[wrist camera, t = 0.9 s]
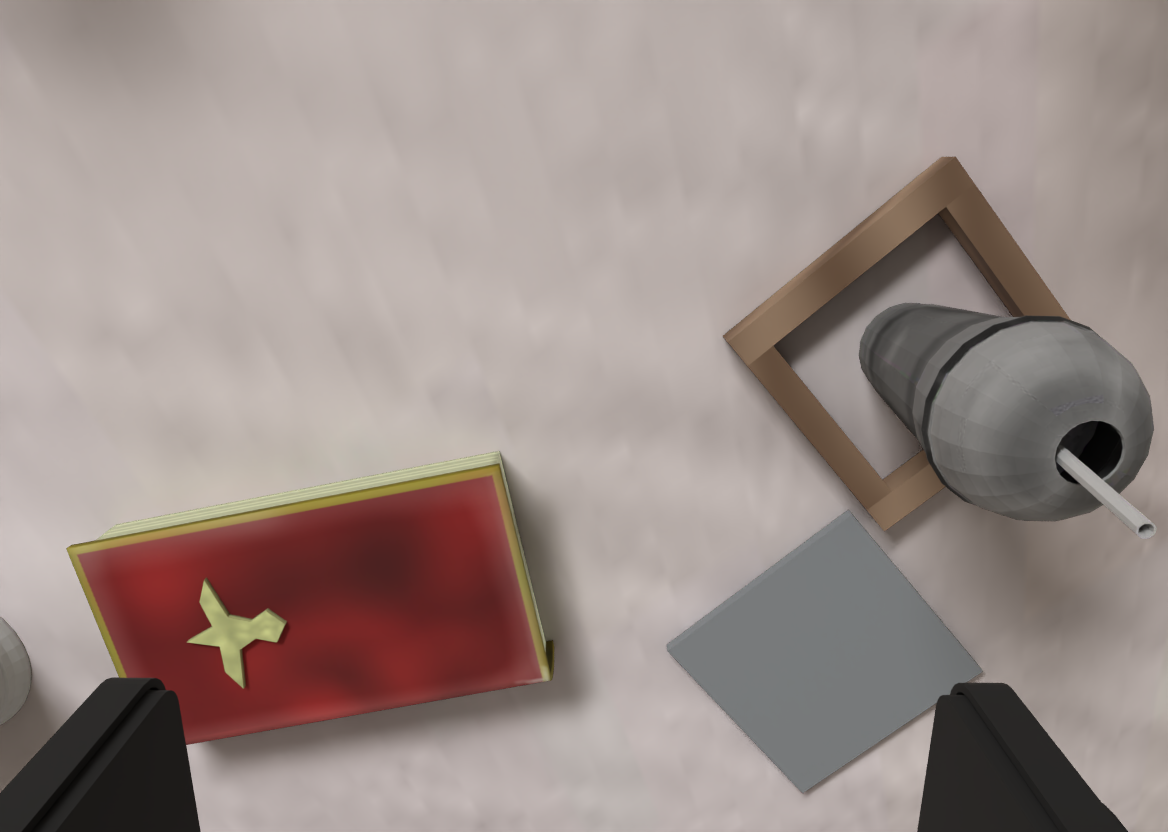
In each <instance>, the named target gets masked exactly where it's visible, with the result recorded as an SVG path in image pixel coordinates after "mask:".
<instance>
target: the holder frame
mask: <svg viewBox="0 0 1168 832" xmlns="http://www.w3.org/2000/svg"><path fill="white" fill-rule="evenodd" d="M937 213H939V215H940V216H941V217H942V219H943V220H944V222H945V223H946V224H947V226H948V227H949V229H950V230H951V231H952V233H953V234H954V235H955V237H956V238H957V240H958V241H959V242H960V244H961V245H962V246H963V248H964V249H965V251H966V252H967V253H968V255H969V256H970V258H971V259H972V260H973V262H974V263H975V264H976V266H977V267H978V269H979V270H980V271H981V273H982V274H983V276H984V277H985V278H986V280H987V281H988V282H989V284H990V285H991V287H992V288H993V289H994V291H995V292H996V293H997V295H998V296H999V298H1000V299H1001V300H1002V302H1003V303H1004V305H1005V306H1006V307H1007V309H1008V310H1009V311H1010V313H1011V314H1012V316H1013V317H1023V316H1026V315H1028V316H1060V317H1063V318H1066V319H1068V320H1070V318H1069V317H1068V316H1067V314H1066V313H1065V311H1064V310H1063V309H1062V307H1061V306H1060V304H1059V303H1058V301H1057V300H1056V299H1055V297H1054V296H1053V294H1052V293H1051V292H1050V290H1049V289H1048V287H1047V286H1046V284H1045V283H1044V282H1043V280H1042V279H1041V277H1040V276H1039V274H1038V273H1037V272H1036V270H1035V269H1034V267H1033V266H1032V265H1031V263H1030V262H1029V260H1028V259H1027V257H1026V256H1025V255H1024V253H1023V252H1022V250H1021V249H1020V248H1019V246H1018V245H1017V243H1016V242H1015V240H1014V239H1013V238H1012V236H1011V235H1010V233H1009V232H1008V231H1007V229H1006V228H1005V226H1004V225H1003V223H1002V222H1001V221H1000V219H999V218H998V216H997V215H996V213H995V212H994V211H993V209H992V208H991V206H990V205H989V204H988V202H987V201H986V199H985V198H984V196H983V195H982V194H981V192H980V191H979V189H978V188H977V187H976V185H975V184H974V182H973V181H972V179H971V178H970V177H969V175H968V174H967V172H966V171H965V169H964V168H963V167H962V165H961V164H960V162H959V161H958V160H957V158H956V157H941V158H940V159H939V160H937V161H936V162H935V163H934V164H932V165H931V166H930V167H929V168H928V169H926V170H925V171H924V172H923V173H921V174H920V175H919V176H918V177H917V178H915V179H914V180H913V181H912V182H910V183H909V184H908V185H907V186H906V187H904V188H903V189H902V190H901V191H899V192H898V193H897V194H896V195H895V196H893V197H892V198H891V199H890V200H888V201H887V202H886V203H885V204H884V205H882V206H881V207H880V208H879V209H877V210H876V211H875V212H874V213H873V214H871V215H870V216H869V217H868V218H866V219H865V220H864V221H863V222H862V223H860V224H859V225H858V226H857V227H855V228H854V229H853V230H852V231H851V232H849V233H848V234H847V235H846V236H844V237H843V238H842V239H841V240H840V241H838V242H837V243H836V244H835V245H833V246H832V247H831V248H830V249H829V250H827V251H826V252H825V253H824V254H822V255H821V256H820V257H819V258H818V259H816V260H815V261H814V262H813V263H811V264H810V265H809V266H808V267H807V268H805V269H804V270H803V271H802V272H800V273H799V274H798V275H797V276H796V277H794V278H793V279H792V280H791V281H789V282H788V283H787V284H786V285H785V286H783V287H782V288H781V289H780V290H778V291H777V292H776V293H775V294H774V295H772V296H771V297H770V298H769V299H767V300H766V301H765V302H764V303H763V304H761V305H760V306H759V307H758V308H756V309H755V310H754V311H753V312H752V313H750V314H749V315H748V316H747V317H745V318H744V319H743V320H742V321H741V322H739V323H738V324H737V325H736V326H734V327H733V328H732V329H731V330H730V331H728V332H727V333H726V334H725V335H723V337H724V338H725V340H726V341H727V342H728V343H729V344H730V346H731V347H732V348H733V349H734V350H735V352H736V353H737V354H738V355H739V356H740V358H741V359H742V360H743V361H744V363H745V364H746V365H747V366H748V367H749V369H750V370H751V371H752V372H753V373H754V375H755V376H756V377H757V378H758V379H759V381H760V382H761V383H762V384H763V385H764V387H765V388H766V389H767V390H768V392H769V393H770V394H771V395H772V396H773V398H774V399H775V400H776V401H777V402H778V404H779V405H780V406H781V407H782V408H783V410H784V411H785V412H786V413H787V414H788V416H789V417H790V418H791V419H792V420H793V422H794V423H795V424H796V425H797V427H798V428H799V429H800V430H801V431H802V433H803V434H804V435H805V436H806V437H807V439H808V440H809V441H810V442H811V443H812V445H813V446H814V447H815V448H816V449H817V451H818V452H819V453H820V454H821V455H822V457H823V458H824V459H825V460H826V462H827V463H828V464H829V465H830V466H831V468H832V469H833V470H834V471H835V472H836V474H837V475H838V476H839V477H840V478H841V480H842V481H843V482H844V483H845V484H846V486H847V487H848V488H849V489H850V491H851V492H852V493H853V494H854V495H855V497H856V498H857V499H858V500H859V501H860V503H861V504H862V505H863V506H864V507H865V509H866V510H867V511H868V512H869V513H870V515H871V516H872V517H873V518H874V519H875V521H876V522H877V523H878V524H879V526H880V527H881V528H882V529H883V530H884V531H886V530H887V529H888V528H890V527H891V526H892V525H894V524H895V523H896V522H898V521H899V520H901V519H902V518H903V517H905V516H906V515H907V514H909V513H910V512H912V511H913V510H914V509H916V508H917V507H918V506H920V505H921V504H922V503H924V502H925V501H927V500H928V499H929V498H931V497H932V496H933V495H935V494H936V493H938V492H939V491H940V490H942V489H943V488H944V487H946V486H944V485H943V484H942V483H941V481H940V480H939V478H938V477H937V475H936V473H935V472H934V470H933V468H932V467H931V465H930V463H929V462H928V460H927V457H926V453H925V451H924V450H922V451H921V452H919V453H918V454H917V455H915V456H914V457H913V458H911V459H910V460H908V461H907V462H906V463H904V464H903V465H902V466H900V467H899V468H898V469H896V470H895V471H894V472H892V473H891V474H890V475H888V476H887V477H886V478H884V479H883V480H882V479H881V478H880V476H879V475H878V474H877V473H876V471H875V470H874V469H873V468H872V467H871V465H870V464H869V463H868V462H867V460H866V459H865V458H864V457H863V455H862V454H861V453H860V452H859V451H858V449H857V448H856V447H855V446H854V444H853V443H852V442H851V441H850V439H849V438H848V437H847V436H846V435H845V433H844V432H843V431H842V430H841V428H840V427H839V426H838V425H837V423H836V422H835V421H834V420H833V419H832V417H831V416H830V415H829V414H828V412H827V411H826V410H825V409H824V408H823V406H822V405H821V404H820V403H819V401H818V400H817V399H816V398H815V396H814V395H813V394H812V393H811V392H810V390H809V389H808V388H807V387H806V385H805V384H804V383H803V382H802V380H801V379H800V378H799V377H798V376H797V374H796V373H795V372H794V371H793V369H792V368H791V367H790V366H789V364H788V363H787V362H786V361H785V360H784V358H783V357H782V356H781V355H780V353H779V352H778V351H777V350H776V348H775V347H774V346H773V345H775V344H776V343H777V342H778V341H780V340H781V339H782V338H783V337H785V336H786V335H787V334H788V333H790V332H791V331H792V330H793V329H795V328H796V327H797V326H798V325H799V324H801V323H802V322H803V321H804V320H806V319H807V318H808V317H809V316H811V315H812V314H813V313H814V312H816V311H817V310H818V309H819V308H821V307H822V306H823V305H824V304H826V303H827V302H828V301H829V300H831V299H832V298H833V297H834V296H836V295H837V294H838V293H839V292H841V291H842V290H843V289H844V288H845V287H847V286H848V285H849V284H850V283H852V282H853V281H854V280H855V279H857V278H858V277H859V276H860V275H862V274H863V273H864V272H865V271H867V270H868V269H869V268H870V267H872V266H873V265H874V264H875V263H877V262H878V261H879V260H880V259H882V258H883V257H884V256H885V255H887V254H888V253H889V252H890V251H891V250H893V249H894V248H895V247H896V246H898V245H899V244H900V243H901V242H903V241H904V240H905V239H906V238H908V237H909V236H910V235H911V234H913V233H914V232H915V231H916V230H918V229H919V228H920V227H921V226H923V225H924V224H925V223H926V222H928V221H929V220H930V219H931V218H933V217H934V216H935V215H936V214H937Z"/></svg>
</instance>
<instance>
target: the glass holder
mask: <svg viewBox="0 0 1168 832" xmlns="http://www.w3.org/2000/svg"><path fill="white" fill-rule="evenodd" d="M30 685H31V666H30V662H29V658H28V655H27V652H26V650H25V648H24V646H23V644H22V642H21V640H20V639H19V637H18V636H17V634H16V633H15V631H14V630H13V629H12V628H11V627H10V626H9V625H8V624H7V623H6V622H5V620H3V619H2V618H1V617H0V725H1V724H3V723H4V722H6V721H8V720H9V719H11V718H12V717H13V716H14V715H15V714H16V713H17V712H18V711H19V710H20V708H21V707H22V705H23V704H24V703H25V701H26V698H27V696H28V693H29V691H30Z"/></svg>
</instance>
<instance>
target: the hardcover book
mask: <svg viewBox="0 0 1168 832" xmlns="http://www.w3.org/2000/svg"><path fill="white" fill-rule="evenodd" d="M67 552H68V554H69V557H70V559H71V561H72V564H73V566H74V569H75V571H76V574H77V576H78V578H79V581H80V583H81V586H82V588H83V591H84V593H85V595H86V598H87V600H88V603H89V605H90V608H91V610H92V612H93V615H94V617H95V620H96V622H97V625H98V627H99V630H100V632H101V634H102V637H103V639H104V642H105V644H106V647H107V649H108V651H109V654H110V656H111V659H112V661H113V664H114V666H115V668H116V671H117V673H118V676H119V678H157V679H160V680H161V681H162V682H163V684H164V686H165V689H166V690H172V691H174V692H175V693H176V695H177V697H178V700H179V705H180V711H181V717H182V724H183V730H184V736H185V742H186V745H188V744H194V743H200V742H205V741H211V740H217V739H222V738H228V737H234V736H239V735H245V734H251V733H256V732H262V731H267V730H273V729H279V728H284V727H290V726H296V725H301V724H307V723H313V722H318V721H324V720H330V719H335V718H341V717H347V716H352V715H358V714H364V713H369V712H375V711H381V710H386V709H392V708H398V707H403V706H409V705H415V704H420V703H426V702H432V701H437V700H443V699H449V698H454V697H460V696H466V695H471V694H477V693H483V692H488V691H494V690H500V689H505V688H511V687H517V686H522V685H528V684H534V683H539V682H545V681H551V680H552V678H553V672H554V643H553V640H551V641H545V637H544V633H543V629H542V625H541V620H540V616H539V612H538V608H537V604H536V600H535V596H534V592H533V587H532V583H531V579H530V575H529V571H528V567H527V563H526V559H525V555H524V550H523V546H522V542H521V538H520V534H519V530H518V526H517V522H516V517H515V513H514V509H513V505H512V501H511V497H510V493H509V489H508V484H507V480H506V476H505V472H504V468H503V464H502V460H501V456H500V451H497V452H492V453H487V454H481V455H476V456H471V457H466V458H461V459H455V460H450V461H445V462H440V463H435V464H429V465H424V466H419V467H414V468H409V469H403V470H398V471H393V472H388V473H382V474H377V475H372V476H367V477H362V478H356V479H351V480H346V481H341V482H336V483H330V484H325V485H320V486H315V487H310V488H304V489H299V490H294V491H289V492H284V493H278V494H273V495H268V496H263V497H258V498H252V499H247V500H242V501H237V502H232V503H226V504H221V505H216V506H211V507H206V508H200V509H195V510H190V511H185V512H179V513H174V514H169V515H164V516H159V517H153V518H148V519H143V520H138V521H133V522H127V523H122V524H117V525H115V526H114V527H112V528H111V529H110V530H108V531H107V532H106V533H105V534H103V535H102V536H101V537H99V538H98V539H97V540H95V541H90V542H85V543H80V544H74V545H71V546H69V547H68V548H67Z"/></svg>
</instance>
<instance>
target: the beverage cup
mask: <svg viewBox="0 0 1168 832" xmlns="http://www.w3.org/2000/svg"><path fill="white" fill-rule="evenodd" d="M859 358H860V363H861V368H862V370H863V372H864V373H865V375H866V377H867V378H868V380H869V381H870V382H871V384H872V385H873V387H874V388H875V390H876V392H877V393H878V394H879V395H880V396H881V397H882V399H883V400H884V401H885V402H886V403H887V404H888V406H889V407H890V408H891V409H892V410H893V411H894V412H895V414H896V415H897V416H898V417H899V418H900V419H901V421H902V422H903V423H904V424H905V425H906V426H907V428H908V429H909V430H910V431H911V432H912V433H913V434H914V436H915V437H916V438H917V439H918V440H919V442H920V444H921V446H922V448H923V450H924V451H925V453H926V457H927V460H928V462H929V463H930V465H931V467H932V468H933V470H934V472H935V473H936V475H937V477H938V478H939V480H940V481H941V483H942V484H943V485H944V486H946V487H947V488H948V489H949V490H951V491H952V492H953V493H954V494H956V495H957V496H958V497H960V498H961V499H962V500H963V501H965V502H968V503H971V504H974V505H977V506H979V507H981V508H984V509H986V510H989V511H992V512H995V513H998V514H1001V515H1004V516H1007V517H1010V518H1013V519H1016V520H1024V521H1059V520H1064V519H1067V518H1071V517H1075V516H1079V515H1082V514H1086V513H1090V512H1092V511H1093V510H1095V509H1097V508H1099V507H1100V506H1102V505H1104V506H1105V507H1107V508H1108V509H1109V510H1110V511H1111V512H1112V513H1113V514H1114V515H1115V516H1117V517H1118V518H1119V519H1120V520H1121V521H1122V522H1123V523H1124V524H1125V525H1126V526H1128V527H1129V528H1130V529H1131V530H1132V531H1133V532H1134V533H1135V534H1136V535H1138V536H1139V537H1140V538H1141V539H1146V538H1150V537H1152V536H1153V535H1154V534H1155V533H1156V528H1157V527H1156V526H1155V525H1154V524H1153V523H1152V522H1151V521H1150V520H1149V519H1147V518H1146V517H1145V516H1144V515H1143V514H1142V513H1140V512H1139V511H1138V510H1137V509H1136V508H1135V507H1133V506H1132V505H1131V504H1130V503H1129V502H1128V501H1126V500H1125V499H1124V498H1123V497H1122V496H1121V495H1120V493H1121V492H1122V491H1123V490H1124V489H1125V488H1126V487H1127V486H1128V485H1129V484H1130V483H1131V482H1132V481H1133V480H1134V479H1135V477H1136V475H1137V473H1138V472H1139V470H1140V468H1141V466H1142V465H1143V463H1144V461H1145V459H1146V458H1147V456H1148V453H1149V448H1150V444H1151V439H1152V435H1153V431H1154V425H1153V416H1152V407H1151V401H1150V395H1149V394H1148V392H1147V390H1146V388H1145V386H1144V384H1143V382H1142V380H1141V378H1140V376H1139V374H1138V372H1137V371H1136V369H1135V367H1134V366H1133V364H1132V363H1131V362H1130V361H1129V360H1127V359H1126V358H1125V357H1124V356H1123V355H1122V354H1120V353H1119V352H1118V351H1117V350H1116V349H1115V348H1114V347H1112V346H1111V345H1110V344H1109V343H1108V342H1107V341H1105V340H1104V339H1103V338H1102V337H1100V336H1099V335H1098V334H1096V333H1095V332H1094V331H1093V330H1092V329H1091V328H1090V327H1087V326H1085V325H1082V324H1079V323H1077V322H1074V321H1071V320H1068V319H1066V318H1063V317H1060V316H1028V315H1026V316H1023V317H1000V316H995V315H989V314H984V313H978V312H973V311H967V310H961V309H956V308H950V307H945V306H939V305H934V304H919V303H903V304H900V305H896V306H893V307H890V308H888V309H886V310H885V311H883V312H882V313H880V314H879V315H877V316H876V317H875V318H874V320H873V321H872V322H871V323H870V324H869V325H868V326H867V328H866V330H865V332H864V335H863V337H862V339H861V342H860V350H859Z"/></svg>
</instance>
